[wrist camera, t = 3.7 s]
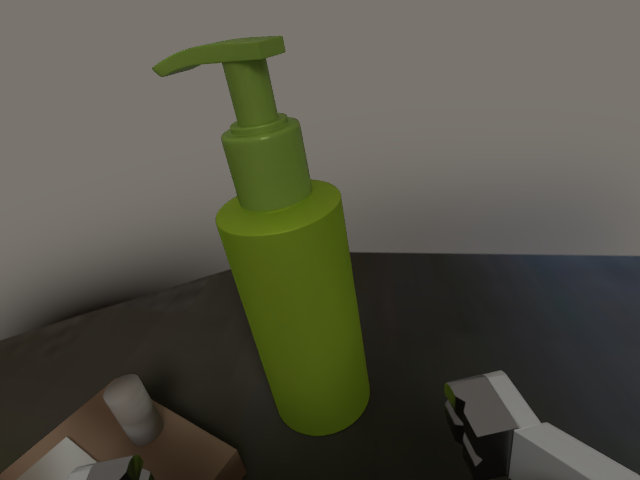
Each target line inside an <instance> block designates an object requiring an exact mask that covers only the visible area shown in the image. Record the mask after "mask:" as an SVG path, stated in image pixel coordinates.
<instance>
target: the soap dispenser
mask: <svg viewBox="0 0 640 480" xmlns="http://www.w3.org/2000/svg"><path fill="white" fill-rule="evenodd" d="M284 52H285V47H284V41H283V37H282V36H268V37H250V38H240V39H232V40H226V41H221V42H216V43H211V44H207V45H202V46H197V47H193V48H189V49H186V50H183V51H180V52H178V53H176V54H174V55H172V56H170V57H168V58H166V59H164V60H163V61H161V62H160V63H158V64H157V65H155V66H154V67H153V68H152V69H153V70H154V71H155V72H156V73H157V74H158V75H159V76H161V77H164V76H168V75H171V74H175V73H179V72H183V71H186V70H190V69H193V68H195V67H197V66H199V65H201V64H211V63H222V64H223V68H224V72H225V76H226V80H227V83H228V87H229V91H230V95H231V99H232V102H233V106H234V110H235V114H236V118H237V122H234V123H233V124H232V125H231V126H230V129H229V130H228V131H226V132H225V133H223V135H222V137H221V140H222V144H223V148H224V151H225V155H226V158H227V161H228V165H229V169H230V172H231V175H232V179H233V182H234V186H235V189H236V193H237V196H236V197H235V198H233V199H231V200H230V201H228V202H227V203H226V204H225V205H224V206H223V207H222V208H221V209H220V210H219V211H218V213H217V215H216V225H217V228H218V231H219V234H220V237H221V240H222V242H223V246H224V249H225V252H226V255H227V258H228V261H229V264H230V267H231V270H232V273H233V276H234V279H235V282H236V285H237V288H238V292H239V295H240V298H241V301H242V304H243V307H244V310H245V313H246V316H247V319H248V322H249V325H250V328H251V331H252V334H253V337H254V340H255V343H256V346H257V349H258V352H259V355H260V358H261V361H262V364H263V367H264V370H265V373H266V376H267V379H268V383H269V386H270V389H271V392H272V395H273V398H274V401H275V404H276V407H277V410H278V413H279V415H280V417H281V418H282V420H283V421H284V422H285V424H286V425H288V426H289V427H290V428H291V429H293V430H295V431H297V432H299V433H302V434H305V435H310V436H325V435H330V434H334V433H337V432H339V431H342V430H344V429H346V428H347V427H349V426H350V425H352V424H353V423H354V422H355V421H356V420H357V419H358V418H359V417H360V416H361V415H362V413H363V412H364V410H365V408H366V406H367V404H368V401H369V396H370V386H369V380H368V373H367V366H366V360H365V353H364V346H363V340H362V333H361V326H360V320H359V313H358V306H357V300H356V293H355V286H354V280H353V273H352V266H351V260H350V253H349V246H348V240H347V233H346V226H345V220H344V213H343V207H342V200H341V194H340V191H339V190H338V189H337V188H336V187H335V186H334V185H332V184H330V183H327V182H324V181H319V180H310V175H309V169H308V164H307V159H306V154H305V149H304V143H303V137H302V132H301V127H300V123H299V121H298V120H297V119H295V118H290V117H287V115H286V114H284V113H277V109H276V104H275V100H274V95H273V90H272V85H271V81H270V76H269V71H268V67H267V62H266V58H268V57H271V56H274V55H278V54H281V53H284Z"/></svg>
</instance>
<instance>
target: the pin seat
mask: <svg viewBox="0 0 640 480" xmlns="http://www.w3.org/2000/svg"><path fill="white" fill-rule="evenodd" d="M137 454H138V455H139V456H140V457H141V459H142V460H143V461H144V463H143V467H142V469H145V470H147V471H150V472H151V474H152V475H153V477H154V479H155V480H242V479H243V477H244V476H245V475H246V473H247V472H246V469H245V467H244V465H243V462H242V460H241V458H240V456H239V453H238V451H237V450H236V449H235V448H233V447H231V446H230V445H228V444H226V443H225V442H223V441H221V440H219V439H218V438H216V437H214V436H213V435H211V434H209V433H208V432H206V431H204V430H203V429H201V428H199V427H197V426H196V425H194V424H192V423H191V422H189V421H187V420H186V419H184V418H182V417H181V416H179V415H177V414H175V413H174V412H172V411H170V410H169V409H167V408H165V407H164V406H162V405H160V404H159V403H157V402H155V401H154V400H152V399H151V398H150V396H149V395H148V393H147V391H146V389H145V387H144V386H143V384H142V382H141V380H140V378H139V377H138V376H137V375H135V374H127V375H124V376H121V377H119V378H117V379H114V380H113V381H112V382H111V383H110V384H108V385H107V386H106V387H105V388H104V389H102V390H101V391H100V392H99V393H98V394H96V395H95V396H94V397H93V398H91V399H90V400H89V401H88V402H87V403H85V404H84V405H83V406H82V407H81V408H79V409H78V410H77V411H76V412H75V413H73V414H72V415H71V416H70V417H69V418H67V419H66V420H65V421H64V422H62V423H61V424H60V425H59V426H58V427H56V428H55V429H54V430H53V431H52V432H50V433H49V434H48V435H47V436H46V437H44V438H43V439H42V440H41V441H40V442H38V443H37V444H36V445H35V446H33V447H32V448H31V449H30V450H29V451H27V452H26V453H25V454H24V455H23V456H21V457H20V458H19V459H18V460H17V461H15V462H14V463H13V464H12V465H11V466H9V467H8V468H7V469H6V470H4V471H3V472H2V473H1V474H0V480H68V478H69V475H70V474H71V473H72V471H73V470H74V469H75V468H76V467H80V466H85V465H89V464H93V463H99V462H103V461H108V460H113V459H118V458H123V457H128V456H132V455H137Z"/></svg>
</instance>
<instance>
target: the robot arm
mask: <svg viewBox="0 0 640 480" xmlns="http://www.w3.org/2000/svg"><path fill="white" fill-rule="evenodd" d="M445 394H446V396H447V398H448V400H447V402H446V403H445V413H446V417H447V421H448V425H449V427H450V430H451V432H452V434H453V437H454V439H455V441H457V442H458V443H460V444H461V445H463V458H464V460H465V462H466V464H467V466H468V468H469V470H470V472H471V475H472V477H473V479H474V480H489V479H493V478H498V477H503V476H508V475H509V478H510V479H511V480H640V475H638V474H636V473H635V472H633V471H631V470H629V469H628V468H626V467H624V466H622V465H621V464H619V463H617V462H615V461H614V460H612V459H610V458H608V457H607V456H605V455H603V454H602V453H600V452H598V451H596V450H595V449H593V448H591V447H589V446H588V445H586V444H584V443H582V442H581V441H579V440H577V439H575V438H574V437H572V436H570V435H568V434H567V433H565V432H563V431H562V430H560V429H558V428H556V427H555V426H553V425H551V424H549V423H548V422H546V423H541V422H540V421H539V419H538V418H537V417H536V415H535V414H534V412H533V411H532V410H531V408H530V407H529V405H528V404H527V403H526V401H525V400H524V398H523V397H522V396H521V394H520V393H519V392H518V390H517V389H516V387H515V386H514V385H513V383H512V382H511V380H510V379H509V378H508V376H507V375H506V373H504V372H503V371H501V370H500V371H495V372H491V373H487V374H483V375H481V374H480V375H476V376H472V377H468V378H464V379H460V380H456V381H452V382H448V383H446V384H445ZM143 463H144V461H143V460H142V459H141V457H140V456H139V455H138V454H137V455H132V456H128V457H123V458H118V459H113V460H108V461H103V462H99V463H93V464H89V465H85V466H80V467H76V468H75V469H74V470H73V471H72V473H71V474H70V475H69V478H68V480H155V479H154V477H153V475H152V474H151V472H150V471H147V470H145V469H142V467H143Z"/></svg>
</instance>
